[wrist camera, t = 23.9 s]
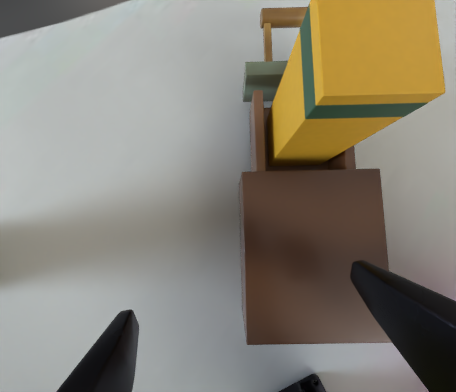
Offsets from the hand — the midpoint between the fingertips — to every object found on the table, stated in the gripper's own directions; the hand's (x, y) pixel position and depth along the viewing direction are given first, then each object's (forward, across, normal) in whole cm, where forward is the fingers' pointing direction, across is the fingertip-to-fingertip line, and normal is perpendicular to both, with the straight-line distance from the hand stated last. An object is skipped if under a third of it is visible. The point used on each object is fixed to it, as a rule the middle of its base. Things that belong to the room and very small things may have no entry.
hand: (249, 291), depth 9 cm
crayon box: (+14, -8, -3) cm, 16 cm away
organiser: (+10, -7, +7) cm, 14 cm away
